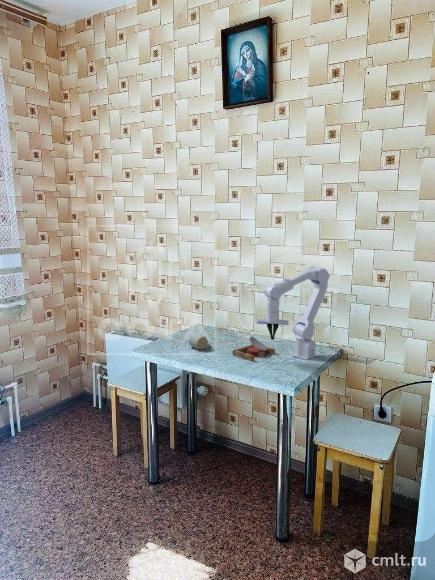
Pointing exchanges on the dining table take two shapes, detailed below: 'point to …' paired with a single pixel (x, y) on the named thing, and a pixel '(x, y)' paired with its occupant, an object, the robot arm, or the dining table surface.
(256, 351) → the canned food
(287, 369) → the dining table surface
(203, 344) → the ceramic mug
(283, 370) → the dining table surface
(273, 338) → the robot arm
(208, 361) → the dining table surface
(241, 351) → the brown wooden u-shaped piece
